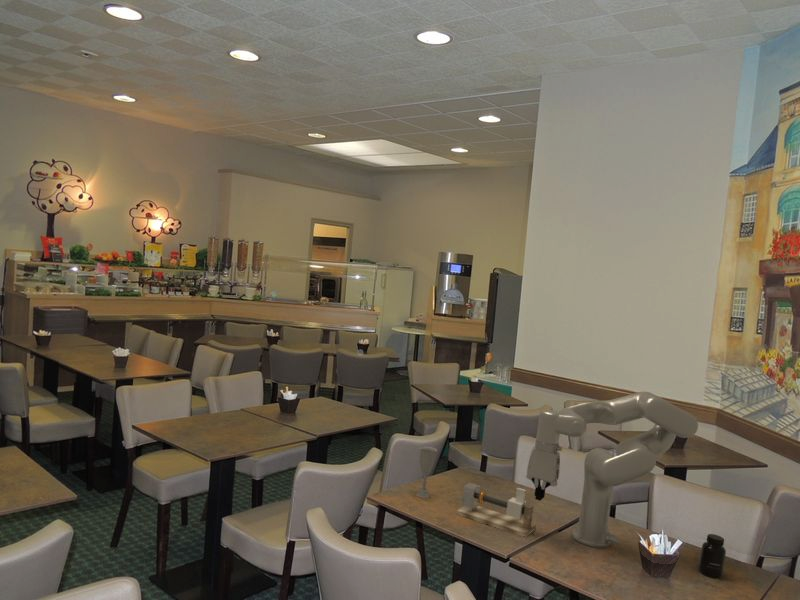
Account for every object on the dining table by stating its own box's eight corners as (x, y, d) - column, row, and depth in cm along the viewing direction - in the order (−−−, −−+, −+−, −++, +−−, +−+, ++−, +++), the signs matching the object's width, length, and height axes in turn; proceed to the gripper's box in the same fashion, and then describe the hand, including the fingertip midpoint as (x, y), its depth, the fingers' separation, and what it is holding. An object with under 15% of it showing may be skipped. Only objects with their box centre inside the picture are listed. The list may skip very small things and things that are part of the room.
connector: (484, 510, 230) (487, 487, 229) (478, 514, 226) (481, 491, 225) (467, 505, 234) (470, 482, 233) (461, 508, 229) (464, 485, 229)
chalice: (415, 490, 247) (420, 445, 246) (432, 493, 246) (437, 448, 245) (413, 497, 240) (418, 450, 239) (430, 500, 239) (436, 453, 238)
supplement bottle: (711, 579, 197) (716, 542, 197) (693, 569, 204) (698, 533, 203) (727, 577, 200) (732, 540, 199) (709, 567, 206) (714, 531, 206)
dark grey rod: (526, 513, 220) (527, 507, 220) (524, 514, 218) (525, 509, 218) (471, 495, 231) (472, 490, 231) (469, 497, 229) (470, 491, 229)
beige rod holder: (535, 528, 222) (538, 503, 222) (525, 537, 214) (528, 511, 213) (468, 506, 236) (471, 483, 235) (456, 514, 227) (459, 489, 227)
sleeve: (524, 515, 222) (528, 488, 221) (519, 519, 218) (522, 492, 217) (511, 510, 224) (514, 484, 224) (506, 514, 220) (509, 488, 220)
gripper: (571, 450, 215) (563, 502, 216) (529, 439, 222) (522, 490, 223) (564, 454, 208) (556, 508, 209) (521, 442, 216) (514, 495, 217)
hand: (539, 498), depth 216 cm, fingers closed
